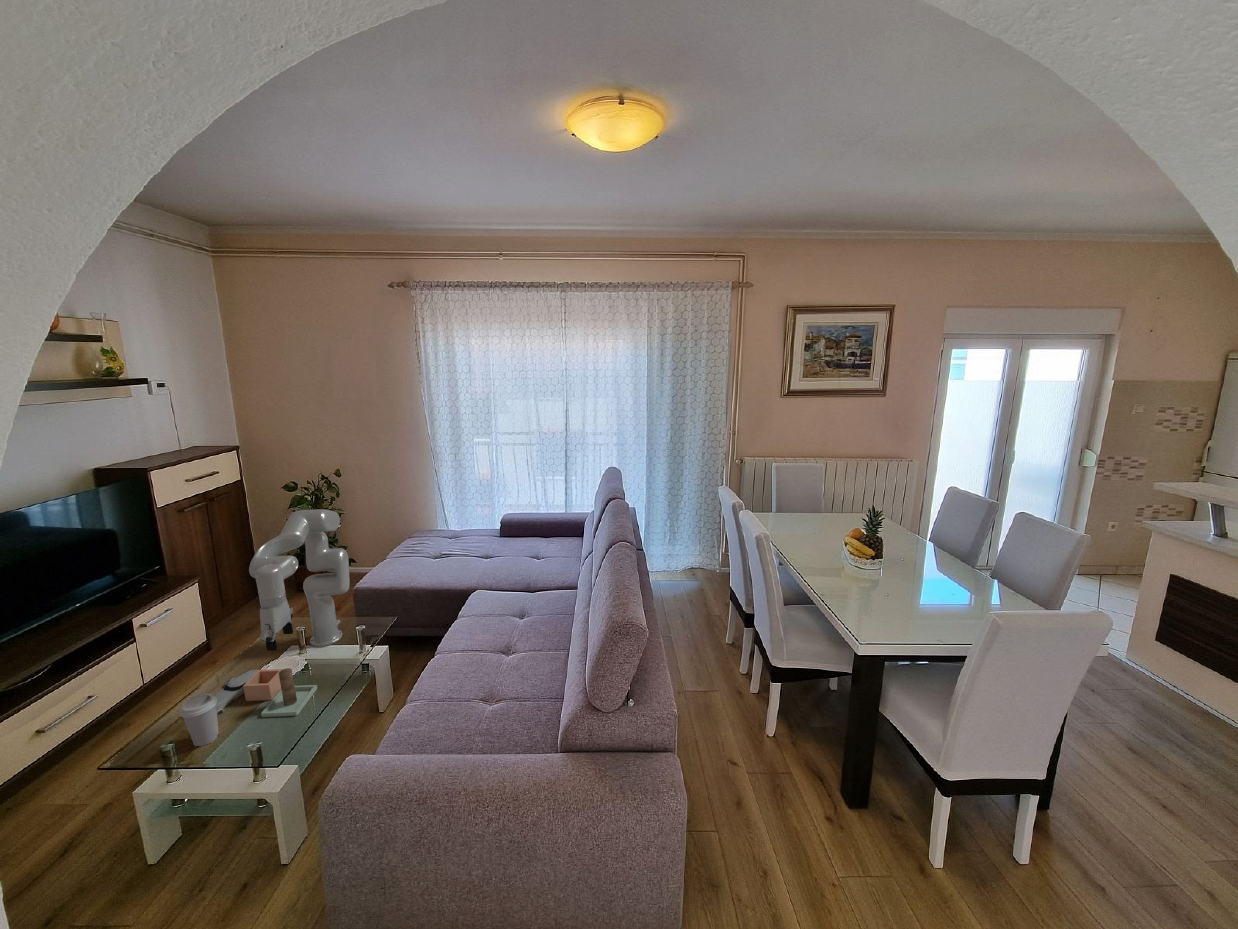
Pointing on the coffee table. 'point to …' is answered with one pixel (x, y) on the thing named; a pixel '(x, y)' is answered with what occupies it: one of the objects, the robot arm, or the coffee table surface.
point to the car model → (232, 690)
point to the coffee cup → (201, 718)
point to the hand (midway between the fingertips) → (280, 641)
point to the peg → (287, 686)
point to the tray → (280, 709)
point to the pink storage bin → (263, 685)
